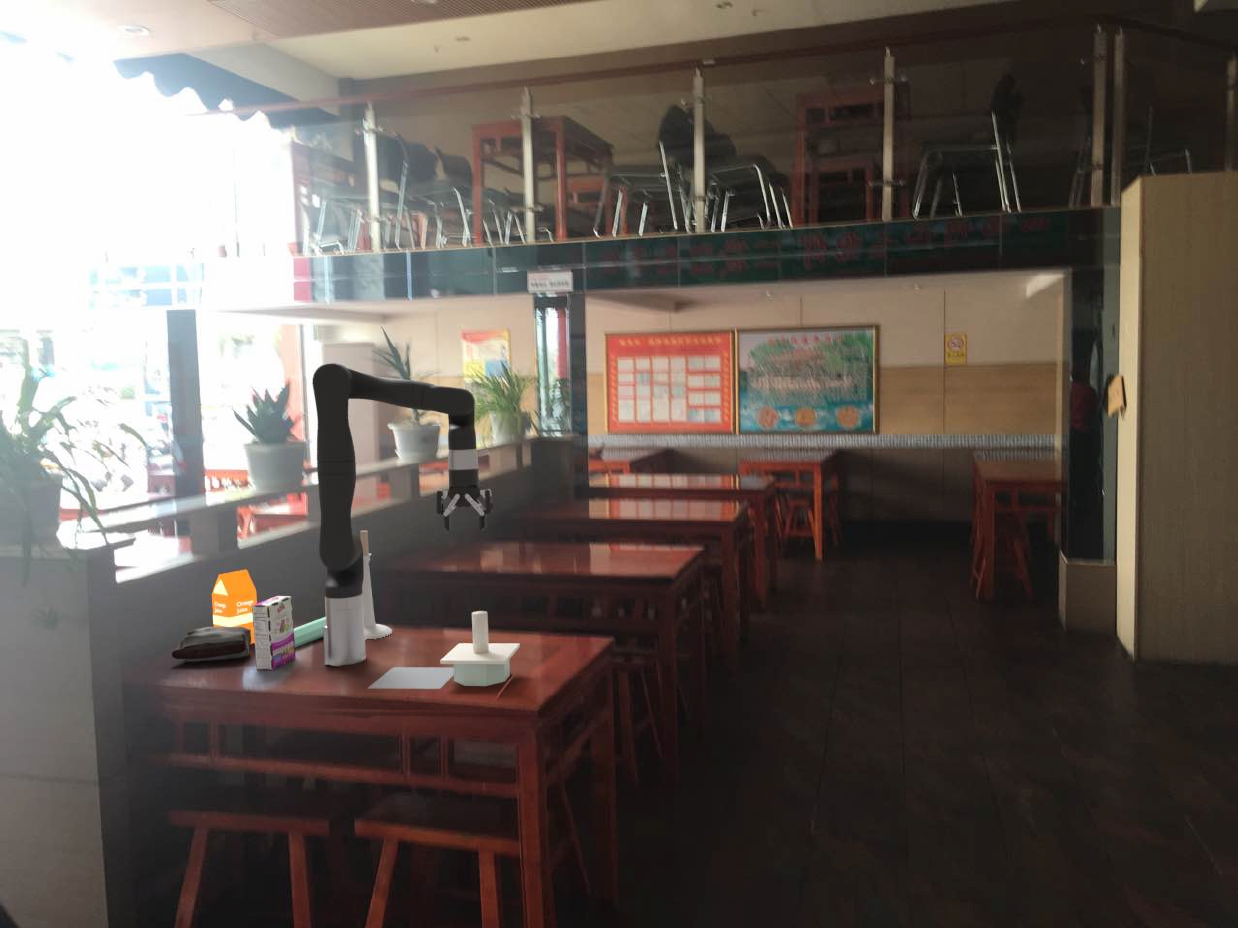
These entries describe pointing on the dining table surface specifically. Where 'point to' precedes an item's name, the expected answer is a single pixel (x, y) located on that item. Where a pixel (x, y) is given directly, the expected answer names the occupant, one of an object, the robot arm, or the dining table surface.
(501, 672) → the bowl
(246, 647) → the dark pillow-shaped pouch
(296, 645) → the container
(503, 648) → the cover
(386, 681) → the mat
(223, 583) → the orange juice
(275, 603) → the candy bar box
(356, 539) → the robot arm
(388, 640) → the dining table surface
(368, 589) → the candlestick
